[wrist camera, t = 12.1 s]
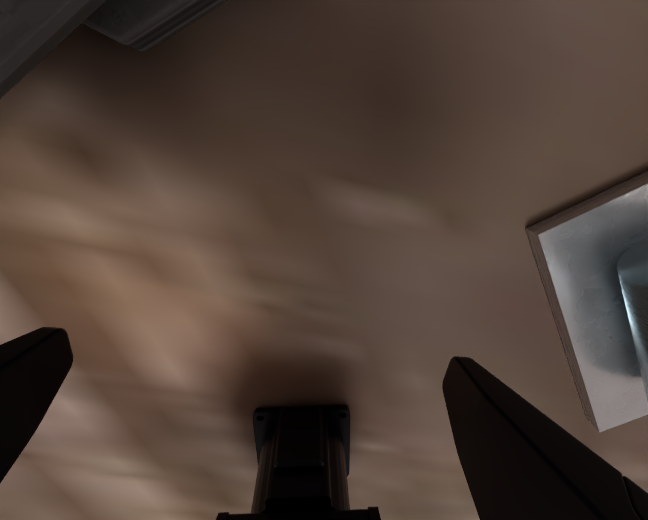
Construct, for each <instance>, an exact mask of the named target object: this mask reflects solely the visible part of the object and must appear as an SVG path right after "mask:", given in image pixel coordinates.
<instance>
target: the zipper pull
mask: <svg viewBox="0 0 648 520" xmlns="http://www.w3.org/2000/svg"><path fill="white" fill-rule="evenodd" d="M225 1H227V0H0V98H1V97H3V96H4V95H5V94H6V93H7V92H8V91H9V90H10V89H11V88H12V87H13V86H14V85H15V84H17V83H18V82H19V81H20V80H21V79H22V78H23V77H24V76H25V75H26V74H27V73H28V72H29V71H31V70H32V69H33V68H34V67H35V66H36V65H37V64H38V63H39V62H40V61H41V60H42V59H43V58H45V57H46V56H47V55H48V54H49V53H50V52H51V51H52V50H53V49H54V48H55V47H56V46H57V45H59V44H60V43H61V42H62V41H63V40H64V39H65V38H66V37H67V36H68V35H69V34H70V33H71V32H73V31H74V30H75V29H76V28H77V27H78V26H79V25H80V24H81V23H83V24H85V25H87V26H89V27H91V28H93V29H94V30H96V31H98V32H100V33H102V34H104V35H106V36H107V37H109V38H111V39H113V40H115V41H117V42H119V43H122V44H124V45H126V46H129V47H131V48H134V49H136V50H139V51H142V52H144V51H147V50H149V49H151V48H153V47H155V46H156V45H158V44H160V43H161V42H163V41H164V40H166V39H167V38H169V37H171V36H172V35H174V34H175V33H177V32H178V31H180V30H182V29H183V28H185V27H186V26H188V25H189V24H191V23H193V22H194V21H196V20H197V19H199V18H200V17H202V16H204V15H205V14H207V13H208V12H210V11H211V10H213V9H214V8H216V7H218V6H219V5H221V4H222V3H224V2H225Z"/></svg>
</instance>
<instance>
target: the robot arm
mask: <svg viewBox="0 0 648 520" xmlns="http://www.w3.org/2000/svg"><path fill="white" fill-rule="evenodd" d="M72 363H73V353H72V349H71V345H70V341H69V338H68V334H67V332H66V330H65V329H63V328H56V327H42V328H39V329H37V330H35V331H32V332H30V333H27V334H25V335H23V336H20V337H18V338H16V339H13V340H11V341H8V342H6V343H4V344H1V345H0V483H1V481H2V480H3V479H4V477H5V476H6V474H7V473H8V471H9V470H10V468H11V467H12V465H13V464H14V462H15V461H16V460H17V458H18V457H19V455H20V454H21V452H22V451H23V449H24V448H25V446H26V445H27V443H28V442H29V440H30V439H31V437H32V436H33V434H34V433H35V431H36V429H37V428H38V426H39V424H40V423H41V421H42V419H43V417H44V416H45V414H46V412H47V410H48V408H49V407H50V405H51V403H52V401H53V399H54V397H55V396H56V394H57V392H58V390H59V388H60V387H61V385H62V383H63V381H64V379H65V377H66V376H67V374H68V372H69V370H70V368H71V366H72ZM442 387H443V394H444V398H445V402H446V407H447V411H448V415H449V420H450V424H451V428H452V433H453V437H454V441H455V445H456V449H457V453H458V456H459V459H460V462H461V465H462V468H463V471H464V474H465V477H466V480H467V483H468V486H469V489H470V492H471V495H472V498H473V501H474V504H475V506H476V509H477V512H478V515H479V518H480V520H648V493H647V492H645V491H644V490H643V489H642V488H640V487H639V486H638V485H636V484H635V483H634V482H632V481H631V480H630V479H629V478H627V477H625V476H622V474H621V473H620V472H619V471H618V470H617V469H615V468H614V467H613V466H611V465H610V464H609V463H607V462H606V461H605V460H604V459H602V458H601V457H600V456H598V455H597V454H596V453H594V452H593V451H592V450H590V449H589V448H588V447H586V446H585V445H584V444H583V443H581V442H580V441H579V440H577V439H576V438H575V437H573V436H572V435H571V434H569V433H568V432H567V431H566V430H564V429H563V428H562V427H560V426H559V425H558V424H556V423H555V422H554V421H552V420H551V419H550V418H549V417H547V416H546V415H545V414H543V413H542V412H541V411H539V410H538V409H537V408H535V407H534V406H533V405H532V404H530V403H529V402H528V401H526V400H525V399H524V398H522V397H521V396H520V395H518V394H517V393H516V392H515V391H513V390H512V389H511V388H509V387H508V386H507V385H505V384H504V383H503V382H501V381H500V380H499V379H498V378H496V377H495V376H494V375H492V374H491V373H490V372H488V371H487V370H486V369H484V368H483V367H482V366H480V365H479V364H478V363H477V362H475V361H474V360H473V359H471V358H469V357H458V356H455V357H453V358H452V359H451V360H450V363H449V366H448V368H447V371H446V374H445V377H444V379H443V386H442ZM342 412H343V414H341V413H342ZM259 415H262V416H259ZM253 425H254V434H255V442H256V450H257V459H258V472H257V478H256V485H255V491H254V497H253V503H252V510H251V513H248V514H229V512H221V513H218V516H217V518H216V520H381V518H380V514H379V510H378V507H368V509H356V510H350V505H349V494H348V484H347V476H348V475H349V451H350V411H349V408H348V407H347V406H345V405H328V406H299V407H270V408H257V409H256V410H255V411H254V414H253Z"/></svg>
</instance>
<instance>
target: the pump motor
mask: <svg viewBox="0 0 648 520" xmlns="http://www.w3.org/2000/svg"><path fill="white" fill-rule="evenodd" d="M525 229H526V232H527V235H528V238H529V241H530V244H531V247H532V250H533V253H534V257H535V260H536V263H537V266H538V269H539V272H540V275H541V278H542V281H543V284H544V288H545V291H546V294H547V297H548V300H549V303H550V306H551V309H552V312H553V315H554V318H555V322H556V325H557V328H558V331H559V334H560V337H561V340H562V343H563V346H564V349H565V353H566V356H567V359H568V362H569V365H570V368H571V371H572V374H573V377H574V380H575V384H576V387H577V390H578V393H579V396H580V399H581V402H582V405H583V408H584V411H585V415H586V418H587V419H588V420H589V421H590V422H591V424H592V425H593V426H594V427H595V428H596V429H597V430H598V431H599V432H602V431H604V430H607V429H610V428H613V427H615V426H618V425H621V424H623V423H626V422H629V421H631V420H634V419H637V418H639V417H642V416H645V415H648V171H646V172H644V173H642V174H640V175H638V176H635V177H633V178H631V179H629V180H627V181H625V182H623V183H621V184H618V185H616V186H614V187H612V188H610V189H608V190H606V191H604V192H602V193H599V194H597V195H595V196H593V197H591V198H589V199H587V200H585V201H583V202H580V203H578V204H576V205H574V206H572V207H570V208H568V209H566V210H563V211H561V212H559V213H557V214H555V215H553V216H551V217H549V218H547V219H544V220H542V221H540V222H538V223H536V224H534V225H532V226H530V227H528V228H525Z"/></svg>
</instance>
